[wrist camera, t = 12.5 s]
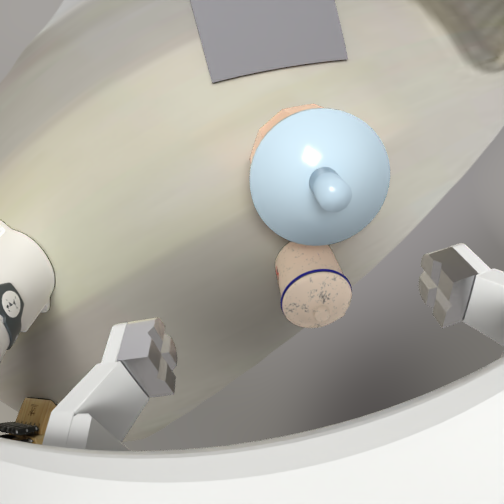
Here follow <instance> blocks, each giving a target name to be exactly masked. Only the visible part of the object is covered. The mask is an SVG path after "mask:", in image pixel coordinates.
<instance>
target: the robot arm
mask: <svg viewBox="0 0 504 504" xmlns="http://www.w3.org/2000/svg"><path fill="white" fill-rule="evenodd" d="M421 267H422V268H423V269H424V271H423V273H422V274H421V276H420V277H419V291H420V295H421V297H422V300H423V301H424V303H425V304H426V305H427V306H429V307H432V308H433V316H434V317H435V318H436V320H437V321H438V323H439V324H440V326H441V327H442V328H445V327H447V326H450V325H453V324H455V323H458V322H461V321H463V320H464V321H463V322H464V323H466V324H468V325H469V326H471V327H473V328H474V329H476V330H478V331H479V332H481V333H482V334H484V335H486V336H487V337H489V338H491V339H493V340H494V341H495V342H497V343H499V344H500V345H502V346H504V272H503V271H500V270H497V269H490V268H489V267H488V266H487V265H486V264H485V263H484V262H483V261H482V260H481V259H480V258H478V256H477V255H475V253H473V252H472V251H471V250H470V249H469V248H468V247H467V246H466V245H465V244H463V243H459V244H456V245H453V246H450V247H448V248H444V249H441V250H438V251H434V252H431V253H428V254H425V255H423V257H422V260H421ZM54 285H55V278H54V272H53V269H52V266H51V264H50V261H49V259H48V258H47V256H46V254H45V253H44V252H43V250H42V249H41V248H40V247H39V246H38V244H37V243H36V242H34V241H33V240H32V239H31V238H30V237H28V236H27V235H25V234H23V233H21V232H18V231H16V230H13V229H11V228H9V227H8V226H7V225H6V224H5V223H4V222H2V221H1V220H0V362H1V360H2V358H3V356H4V354H5V352H6V350H8V349H10V348H11V346H12V345H13V344H14V343H15V341H16V339H17V338H18V335H19V333H20V332H26V331H27V330H28V329H29V327H30V326H31V325H32V323H33V322H34V320H35V319H36V318H37V316H38V315H39V313H46V312H47V311H48V310H49V308H50V295H51V294H52V292H53V289H54ZM164 331H165V325H164V323H163V322H162V320H161V318H158V317H156V318H150V319H144V320H137V321H131V322H126V323H119V324H115V325H114V326H113V327H112V329H111V332H110V335H109V339H108V342H107V345H106V348H105V351H104V355H103V358H102V362H101V363H99V364H96V365H95V366H94V367H93V368H92V369H91V371H90V372H89V373H88V374H87V375H86V376H85V377H84V378H83V379H82V380H81V381H80V382H79V383H78V384H77V385H76V386H75V387H74V388H73V389H72V390H71V391H70V392H69V394H68V395H67V396H66V397H65V398H64V399H63V400H62V401H61V402H60V403H59V404H58V405H57V406H56V407H55V408H54V409H53V411H52V412H51V415H50V418H49V422H48V425H47V428H46V432H45V436H44V439H43V443H42V445H40V444H33V443H27V442H21V441H16V440H10V439H5V438H0V504H504V351H503V354H502V356H501V357H500V359H498V360H496V361H494V362H492V363H491V364H489V365H487V366H485V367H483V368H481V369H479V370H477V371H475V372H473V373H471V374H469V375H467V376H465V377H463V378H461V379H459V380H456V381H454V382H452V383H450V384H448V385H445V386H443V387H441V388H439V389H436V390H434V391H432V392H429V393H427V394H424V395H422V396H419V397H417V398H414V399H412V400H409V401H406V402H404V403H401V404H398V405H395V406H392V407H390V408H387V409H384V410H381V411H378V412H375V413H372V414H369V415H365V416H362V417H359V418H356V419H352V420H348V421H345V422H341V423H338V424H334V425H330V426H326V427H322V428H318V429H315V430H310V431H306V432H301V433H297V434H292V435H288V436H282V437H277V438H271V439H266V440H260V441H254V442H247V443H241V444H233V445H225V446H216V447H207V448H195V449H182V450H163V451H131V450H130V449H129V448H127V447H126V446H125V445H124V444H123V443H121V442H122V441H123V439H124V437H125V436H126V434H127V433H128V431H129V430H130V428H131V427H132V425H133V424H134V422H135V420H136V419H137V417H138V416H139V414H140V413H141V411H142V410H143V408H144V407H145V405H146V404H147V402H148V400H149V398H150V397H158V396H165V395H173V394H174V391H175V379H176V376H175V375H174V373H173V372H172V370H173V369H174V368H175V367H176V366H177V352H176V347H175V344H174V342H173V340H172V338H171V336H169V335H167V334H166V333H164Z"/></svg>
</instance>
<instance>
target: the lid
mask: <svg viewBox="0 0 504 504" xmlns="http://www.w3.org/2000/svg"><path fill="white" fill-rule="evenodd" d="M249 179H250V190H251V196H252V200H253V203H254V206H255V208H256V210H257V212H258V214H259V216H260V217H261V218H262V220H263V221H264V222H265V224H266V225H267V226H268V227H269V228H270V229H271V230H273V231H274V232H275V233H276V234H278V235H280V236H281V237H283V238H285V239H287V240H289V241H292V242H295V243H298V244H303V245H310V246H321V245H329V244H334V243H337V242H340V241H343V240H345V239H348V238H350V237H351V236H353V235H355V234H356V233H358V232H359V231H361V230H362V229H363V228H364V227H366V226H367V225H368V224H369V223H370V222H371V221H372V219H373V218H374V217H375V216H376V214H377V213H378V212H379V210H380V208H381V206H382V205H383V203H384V200H385V198H386V195H387V192H388V188H389V181H390V165H389V159H388V156H387V152H386V150H385V147H384V145H383V143H382V141H381V140H380V138H379V136H378V135H377V134H376V133H375V131H374V130H373V129H372V128H371V127H370V126H369V125H367V124H366V123H365V122H364V121H362V120H361V119H359V118H357V117H355V116H353V115H351V114H349V113H347V112H344V111H340V110H337V109H331V108H312V109H306V110H302V111H299V112H296V113H294V114H291V115H289V116H287V117H286V118H284V119H282V120H281V121H279V122H278V123H277V124H276V125H274V126H273V127H272V128H271V129H270V130H269V131H268V132H267V133H266V135H265V136H264V137H263V139H262V140H261V141H260V143H259V145H258V147H257V148H256V151H255V153H254V156H253V158H252V162H251V167H250V176H249Z"/></svg>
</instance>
